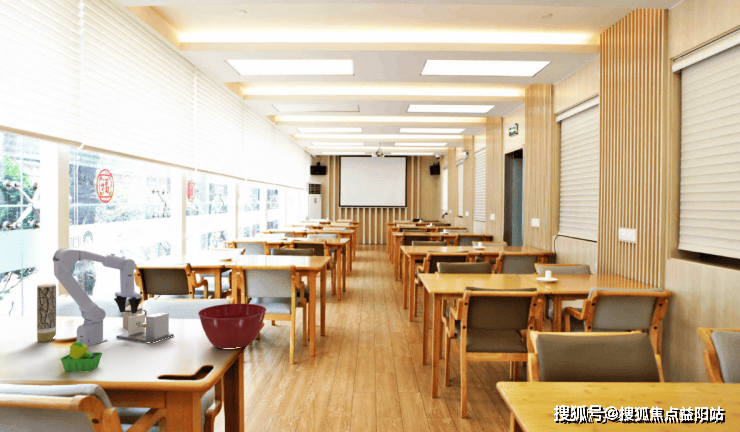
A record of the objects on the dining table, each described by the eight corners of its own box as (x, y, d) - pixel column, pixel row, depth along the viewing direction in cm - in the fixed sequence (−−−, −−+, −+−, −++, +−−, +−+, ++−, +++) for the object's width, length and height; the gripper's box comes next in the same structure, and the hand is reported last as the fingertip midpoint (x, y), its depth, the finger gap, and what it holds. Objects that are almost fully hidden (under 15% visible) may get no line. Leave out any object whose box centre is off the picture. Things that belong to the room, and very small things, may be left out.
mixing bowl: (278, 346, 186) (278, 310, 186) (213, 360, 167) (213, 321, 167) (249, 332, 207) (249, 300, 207) (188, 344, 188) (188, 309, 188)
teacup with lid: (128, 329, 212) (128, 305, 212) (118, 326, 217) (118, 303, 217) (151, 324, 222) (151, 301, 222) (141, 321, 227) (141, 299, 227)
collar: (131, 334, 196) (131, 317, 196) (128, 334, 197) (128, 316, 197) (144, 330, 203) (144, 314, 203) (141, 330, 204) (141, 313, 204)
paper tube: (45, 343, 189) (45, 286, 189) (33, 342, 190) (33, 285, 190) (59, 338, 195) (59, 284, 195) (47, 337, 197) (47, 283, 197)
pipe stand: (154, 339, 191) (154, 317, 191) (123, 335, 197) (123, 313, 197) (168, 334, 198) (168, 313, 198) (138, 330, 205) (138, 309, 205)
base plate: (152, 343, 188) (152, 340, 188) (116, 338, 196) (116, 335, 196) (173, 336, 200) (173, 333, 200) (139, 331, 208) (139, 329, 208)
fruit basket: (103, 365, 161) (103, 335, 161) (89, 374, 153) (89, 342, 153) (72, 365, 161) (73, 335, 161) (56, 374, 152) (56, 342, 152)
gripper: (145, 283, 203) (146, 311, 204) (123, 281, 208) (124, 309, 209) (132, 286, 197) (133, 315, 197) (110, 284, 202) (111, 312, 202)
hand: (128, 312), depth 203 cm, fingers open, 7 cm apart
